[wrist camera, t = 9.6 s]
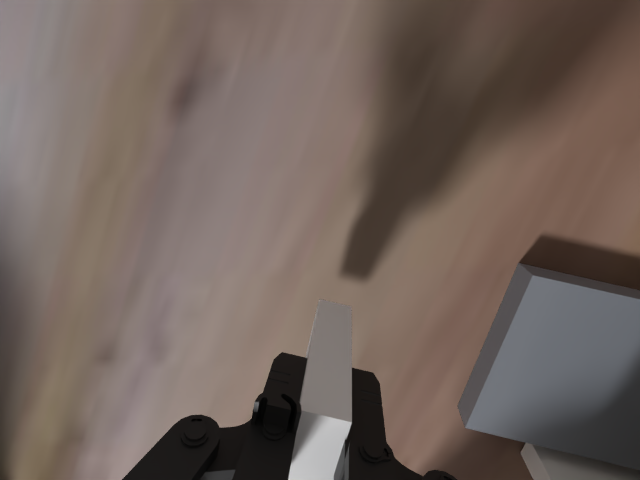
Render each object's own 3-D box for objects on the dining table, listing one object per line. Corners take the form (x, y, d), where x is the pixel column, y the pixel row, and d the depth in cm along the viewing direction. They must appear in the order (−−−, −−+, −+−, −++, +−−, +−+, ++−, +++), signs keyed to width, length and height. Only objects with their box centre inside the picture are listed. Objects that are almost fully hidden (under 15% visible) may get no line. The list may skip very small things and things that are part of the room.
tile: (455, 399, 20) (465, 427, 19) (513, 258, 18) (532, 275, 16) (699, 458, 20) (735, 493, 18) (801, 323, 17) (857, 348, 15)
